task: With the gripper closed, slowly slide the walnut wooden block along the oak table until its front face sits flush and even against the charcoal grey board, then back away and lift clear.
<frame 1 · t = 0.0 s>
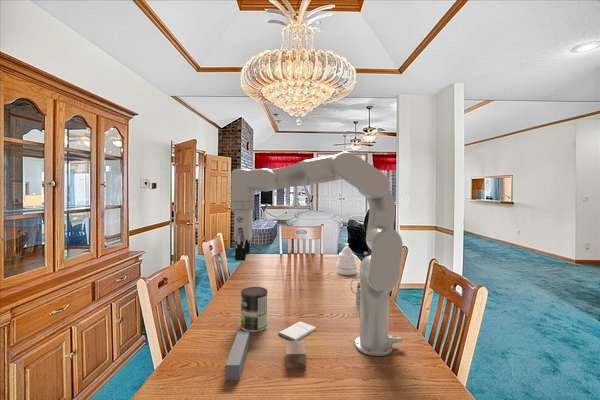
hand: (242, 256, 104), 31 cm above the table, tool pointing down, fingers open, 9 cm apart
external hard drive: (297, 334, 117), on the table
walnut block: (295, 360, 98), on the table
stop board: (238, 360, 98), on the table
coffee can: (254, 326, 122), on the table
french press: (362, 305, 145), on the table
honey pot: (346, 272, 200), on the table
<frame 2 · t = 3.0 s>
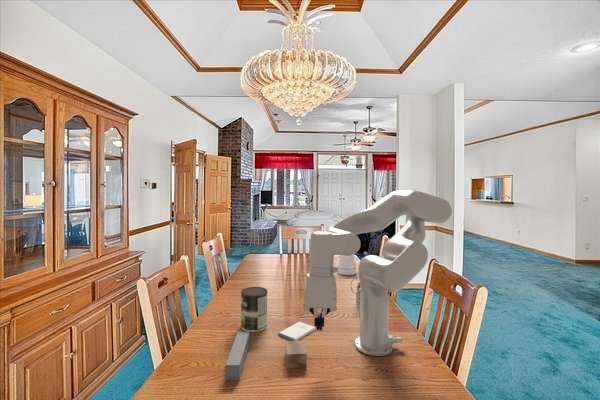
hand: (319, 328, 98), 10 cm above the table, tool pointing down, fingers closed
nothing on the table moved.
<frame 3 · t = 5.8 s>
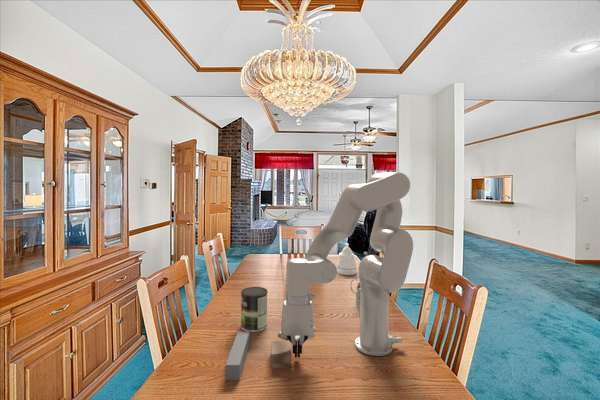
hand: (297, 355, 98), 2 cm above the table, tool pointing down, fingers closed
walnut block: (280, 360, 98), on the table, touching gripper
everything else where it was.
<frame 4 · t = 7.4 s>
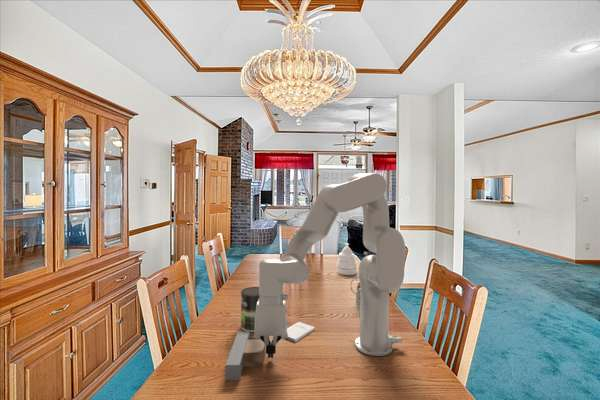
hand: (270, 355, 98), 2 cm above the table, tool pointing down, fingers closed
walnut block: (254, 359, 99), on the table, touching gripper, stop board
everything else where it was.
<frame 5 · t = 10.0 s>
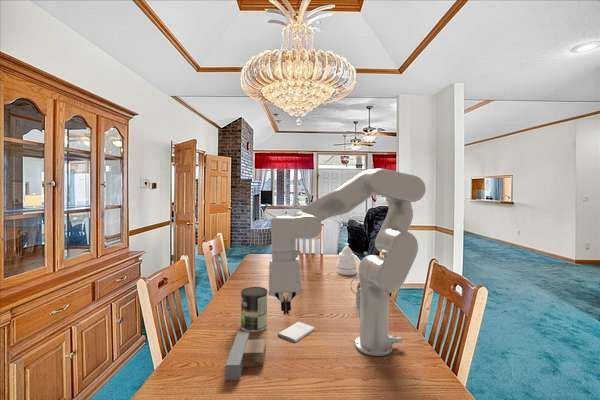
hand: (286, 312, 98), 15 cm above the table, tool pointing down, fingers closed
walnut block: (254, 359, 99), on the table
everything else where it was.
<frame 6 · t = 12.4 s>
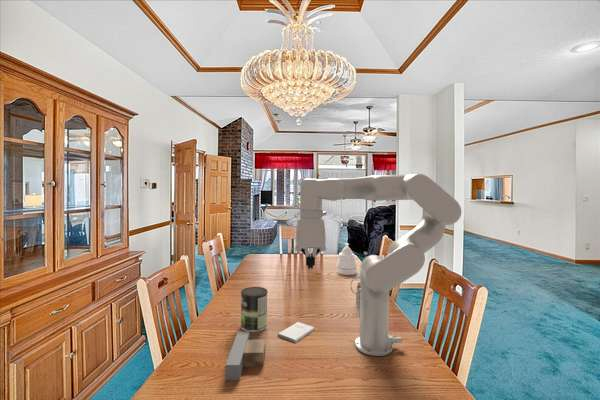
hand: (310, 267, 107), 27 cm above the table, tool pointing down, fingers closed
nothing on the table moved.
at the end: walnut block 0.8 cm from the target spot on the table beside the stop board, on the table; walnut block tilted 0° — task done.
